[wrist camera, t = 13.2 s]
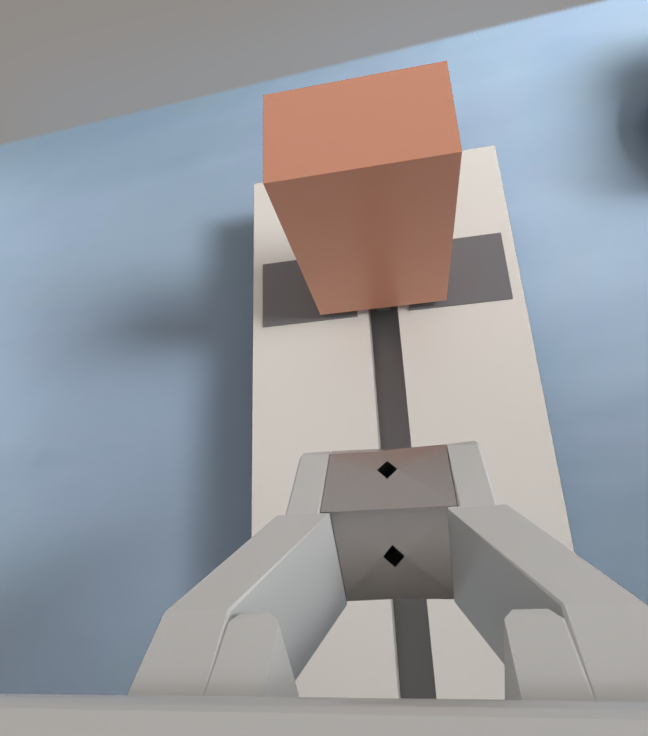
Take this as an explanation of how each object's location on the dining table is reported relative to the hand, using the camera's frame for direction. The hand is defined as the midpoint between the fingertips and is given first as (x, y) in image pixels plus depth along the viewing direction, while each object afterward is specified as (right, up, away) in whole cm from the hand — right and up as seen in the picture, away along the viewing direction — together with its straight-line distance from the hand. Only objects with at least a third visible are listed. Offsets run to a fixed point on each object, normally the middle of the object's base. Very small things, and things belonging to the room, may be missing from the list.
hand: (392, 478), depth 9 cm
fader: (+1, +5, +13) cm, 14 cm away
